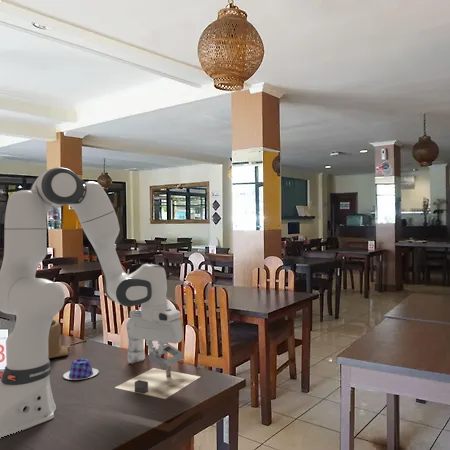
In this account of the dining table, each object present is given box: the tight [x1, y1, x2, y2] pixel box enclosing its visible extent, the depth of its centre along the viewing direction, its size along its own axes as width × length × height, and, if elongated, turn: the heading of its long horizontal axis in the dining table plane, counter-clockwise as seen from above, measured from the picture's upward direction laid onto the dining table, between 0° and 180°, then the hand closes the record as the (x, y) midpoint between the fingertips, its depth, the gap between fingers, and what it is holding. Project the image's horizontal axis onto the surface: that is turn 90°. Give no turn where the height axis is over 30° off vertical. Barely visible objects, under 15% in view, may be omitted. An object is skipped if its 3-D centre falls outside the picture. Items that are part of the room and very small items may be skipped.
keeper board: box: [114, 358, 201, 400], centre depth 145 cm, size 20×20×8 cm
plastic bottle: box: [125, 309, 146, 365], centre depth 168 cm, size 6×7×20 cm
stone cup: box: [48, 319, 71, 360], centre depth 178 cm, size 15×12×15 cm
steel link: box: [147, 343, 184, 370], centre depth 149 cm, size 10×7×2 cm
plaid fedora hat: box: [62, 358, 100, 381], centre depth 157 cm, size 12×12×5 cm
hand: (155, 353), depth 148 cm, fingers closed on steel link, 1 cm apart
